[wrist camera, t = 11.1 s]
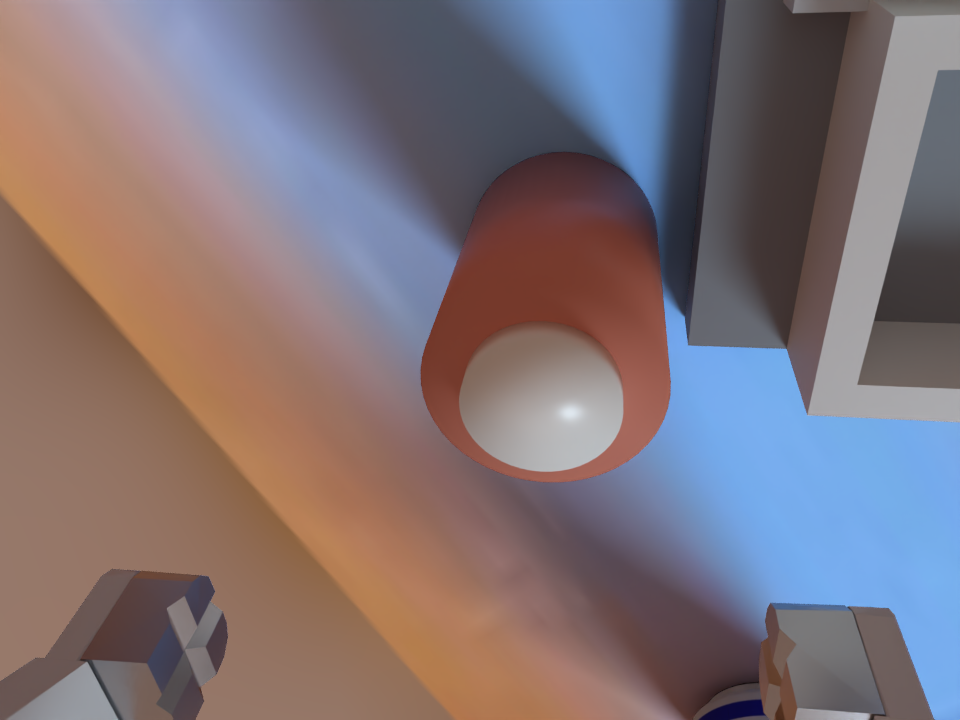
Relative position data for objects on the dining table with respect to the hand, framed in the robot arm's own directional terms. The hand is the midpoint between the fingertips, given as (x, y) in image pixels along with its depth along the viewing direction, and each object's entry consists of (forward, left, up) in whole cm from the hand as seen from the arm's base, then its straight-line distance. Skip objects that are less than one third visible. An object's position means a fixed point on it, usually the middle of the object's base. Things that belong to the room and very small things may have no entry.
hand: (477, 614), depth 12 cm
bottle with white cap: (-1, -1, -10) cm, 10 cm away
